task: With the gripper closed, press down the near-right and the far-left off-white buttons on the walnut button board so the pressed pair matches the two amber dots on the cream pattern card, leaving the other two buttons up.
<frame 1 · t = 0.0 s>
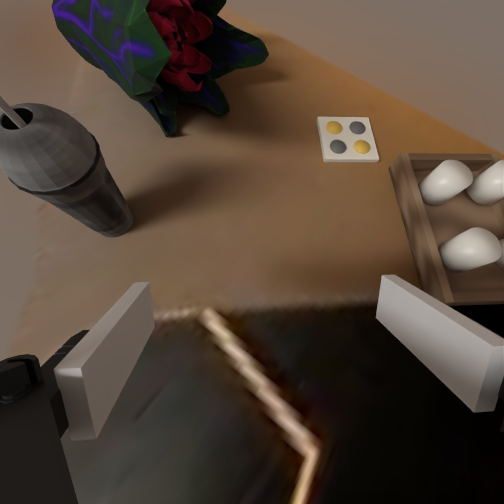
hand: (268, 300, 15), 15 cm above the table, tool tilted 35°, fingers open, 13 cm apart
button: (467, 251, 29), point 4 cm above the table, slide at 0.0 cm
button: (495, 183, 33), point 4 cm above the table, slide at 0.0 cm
pattern card: (346, 140, 39), on the table
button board: (455, 229, 35), on the table
beverage cup: (115, 221, 32), on the table
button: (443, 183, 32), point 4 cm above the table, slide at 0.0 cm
decorative plant: (186, 104, 40), on the table
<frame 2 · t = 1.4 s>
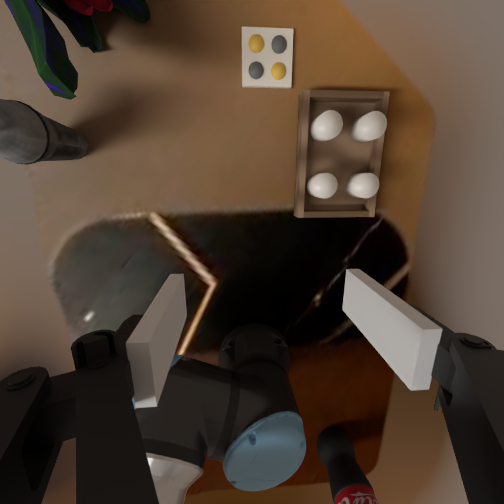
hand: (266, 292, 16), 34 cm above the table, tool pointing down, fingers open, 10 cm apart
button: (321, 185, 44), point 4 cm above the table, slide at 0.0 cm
cola bottle: (330, 436, 65), on the table
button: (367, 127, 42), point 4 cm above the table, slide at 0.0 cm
pattern card: (266, 59, 41), on the table
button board: (334, 159, 46), on the table
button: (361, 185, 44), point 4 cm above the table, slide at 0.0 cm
beverage cup: (73, 145, 43), on the table
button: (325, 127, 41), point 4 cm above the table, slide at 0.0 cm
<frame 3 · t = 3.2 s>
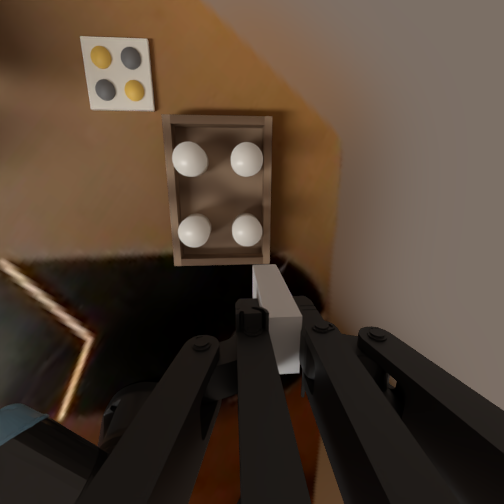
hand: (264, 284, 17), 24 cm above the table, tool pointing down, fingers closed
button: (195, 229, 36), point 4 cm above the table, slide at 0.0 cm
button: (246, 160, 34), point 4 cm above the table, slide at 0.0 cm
pattern card: (120, 76, 33), on the table
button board: (221, 194, 38), on the table
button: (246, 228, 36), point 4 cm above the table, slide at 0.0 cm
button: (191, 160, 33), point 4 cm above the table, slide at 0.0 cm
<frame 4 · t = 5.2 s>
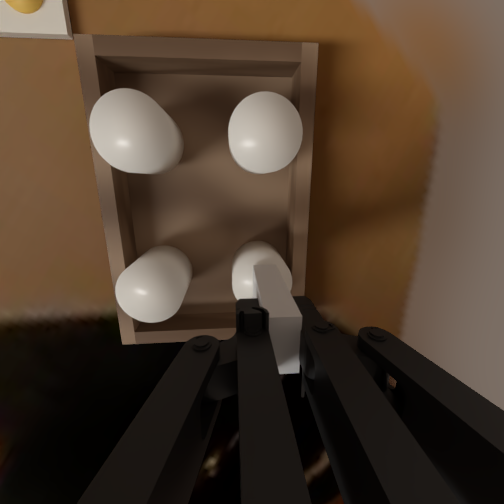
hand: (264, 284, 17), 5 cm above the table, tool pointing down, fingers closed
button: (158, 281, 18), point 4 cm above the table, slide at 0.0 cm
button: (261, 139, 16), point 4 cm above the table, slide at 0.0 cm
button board: (211, 207, 21), on the table
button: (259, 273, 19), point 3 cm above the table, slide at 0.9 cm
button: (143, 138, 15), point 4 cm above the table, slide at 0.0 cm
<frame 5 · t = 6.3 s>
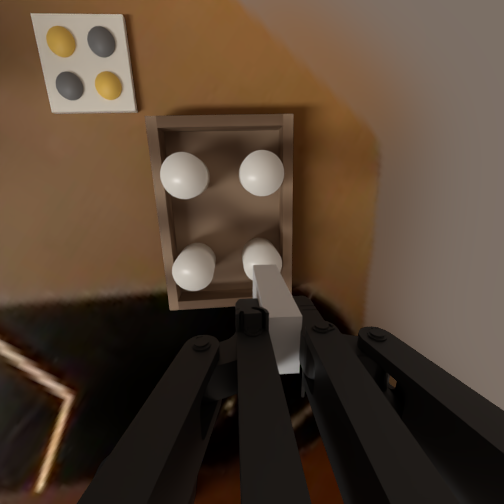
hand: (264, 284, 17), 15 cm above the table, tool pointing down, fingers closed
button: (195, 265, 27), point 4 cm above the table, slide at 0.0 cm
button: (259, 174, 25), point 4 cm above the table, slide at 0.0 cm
pattern card: (89, 67, 25), on the table
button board: (227, 216, 30), on the table
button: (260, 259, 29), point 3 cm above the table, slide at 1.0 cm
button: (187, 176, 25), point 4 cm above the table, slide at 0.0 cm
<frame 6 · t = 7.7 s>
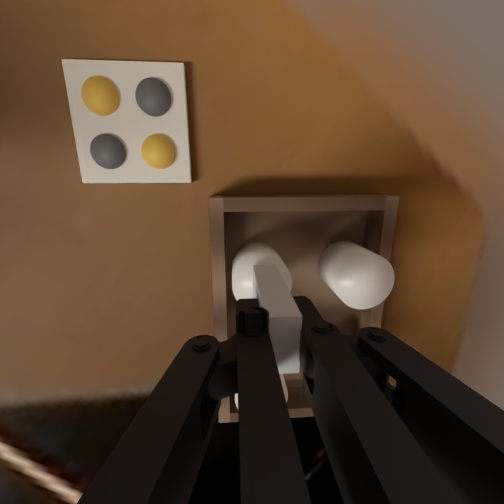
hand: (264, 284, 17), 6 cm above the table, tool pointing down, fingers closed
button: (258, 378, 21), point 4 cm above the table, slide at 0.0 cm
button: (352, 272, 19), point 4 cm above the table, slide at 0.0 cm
pattern card: (133, 127, 19), on the table
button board: (292, 304, 24), on the table
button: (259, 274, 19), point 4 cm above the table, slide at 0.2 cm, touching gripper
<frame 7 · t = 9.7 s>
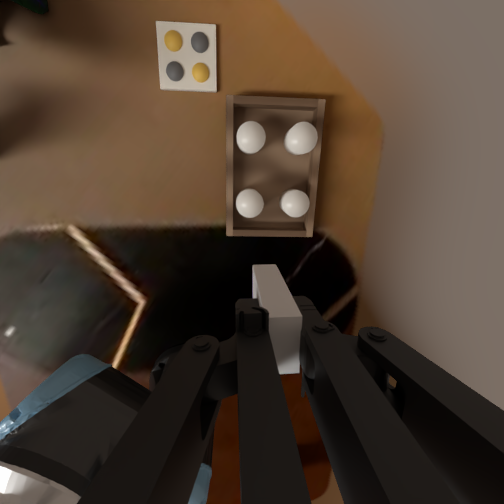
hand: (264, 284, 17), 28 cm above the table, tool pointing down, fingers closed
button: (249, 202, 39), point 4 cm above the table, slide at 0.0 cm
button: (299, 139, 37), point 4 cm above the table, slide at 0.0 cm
pattern card: (188, 59, 37), on the table
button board: (270, 172, 42), on the table
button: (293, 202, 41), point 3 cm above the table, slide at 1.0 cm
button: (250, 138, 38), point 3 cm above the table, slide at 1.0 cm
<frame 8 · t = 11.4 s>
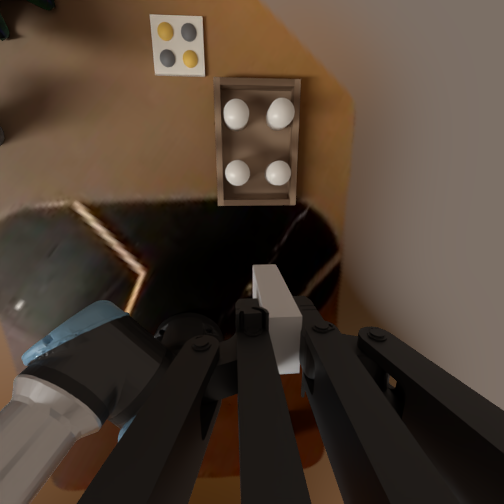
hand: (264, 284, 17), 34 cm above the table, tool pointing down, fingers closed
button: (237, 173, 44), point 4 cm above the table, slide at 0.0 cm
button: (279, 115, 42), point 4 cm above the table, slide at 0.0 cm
pattern card: (178, 47, 42), on the table
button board: (255, 147, 47), on the table
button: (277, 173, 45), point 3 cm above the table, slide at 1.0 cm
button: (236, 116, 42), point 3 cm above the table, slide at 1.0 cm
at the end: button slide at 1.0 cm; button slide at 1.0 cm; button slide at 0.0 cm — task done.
